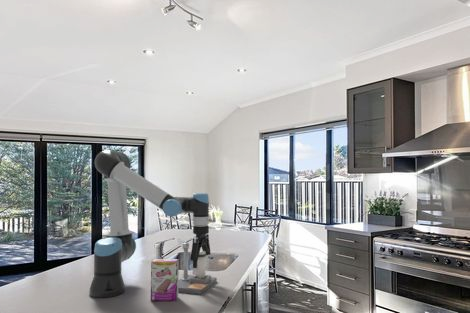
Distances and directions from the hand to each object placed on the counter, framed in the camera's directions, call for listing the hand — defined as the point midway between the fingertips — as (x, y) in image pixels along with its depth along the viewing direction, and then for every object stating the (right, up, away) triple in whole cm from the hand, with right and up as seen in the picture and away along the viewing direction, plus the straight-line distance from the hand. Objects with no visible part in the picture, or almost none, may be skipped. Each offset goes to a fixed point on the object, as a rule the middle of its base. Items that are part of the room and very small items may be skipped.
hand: (200, 271), depth 169 cm
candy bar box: (-14, -6, -19) cm, 24 cm away
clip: (-10, +10, +9) cm, 16 cm away
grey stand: (-4, -7, -1) cm, 8 cm away
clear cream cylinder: (0, -5, 0) cm, 5 cm away
